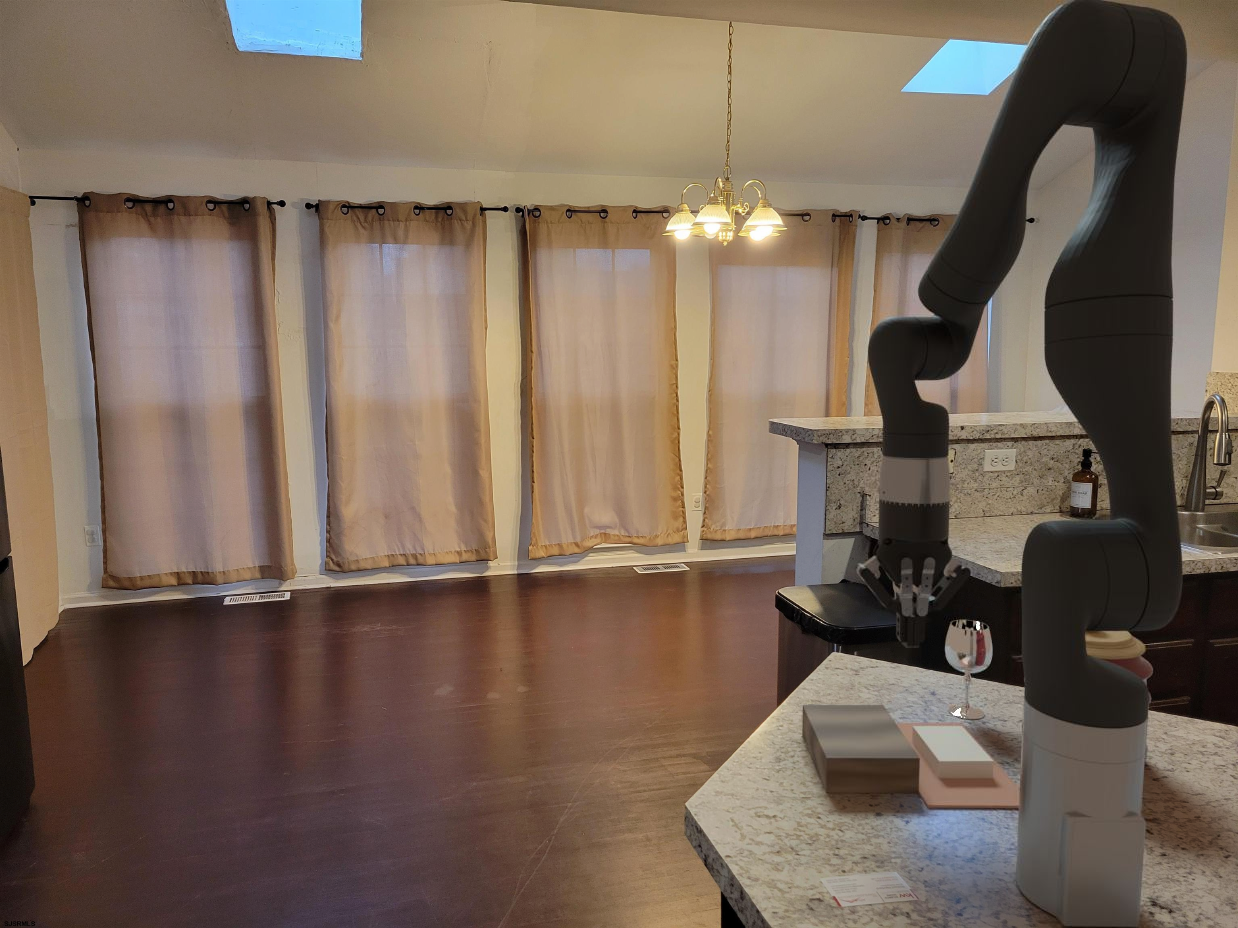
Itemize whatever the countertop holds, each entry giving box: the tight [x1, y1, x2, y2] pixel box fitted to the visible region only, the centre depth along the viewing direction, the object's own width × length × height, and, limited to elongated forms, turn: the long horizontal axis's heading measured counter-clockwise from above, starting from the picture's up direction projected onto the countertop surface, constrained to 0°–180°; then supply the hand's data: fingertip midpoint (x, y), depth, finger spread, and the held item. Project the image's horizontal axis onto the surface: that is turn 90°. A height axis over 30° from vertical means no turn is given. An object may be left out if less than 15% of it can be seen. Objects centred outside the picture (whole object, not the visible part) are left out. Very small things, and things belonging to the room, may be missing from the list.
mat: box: [895, 722, 1020, 809], centre depth 97 cm, size 20×11×1 cm, turn 178°
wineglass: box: [944, 619, 993, 720], centre depth 110 cm, size 6×6×12 cm
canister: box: [1021, 631, 1154, 764], centre depth 97 cm, size 13×13×18 cm
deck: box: [801, 704, 920, 794], centre depth 97 cm, size 14×10×4 cm
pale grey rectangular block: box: [912, 726, 994, 778], centre depth 97 cm, size 9×6×2 cm, turn 179°
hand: (910, 645), depth 95 cm, fingers closed
